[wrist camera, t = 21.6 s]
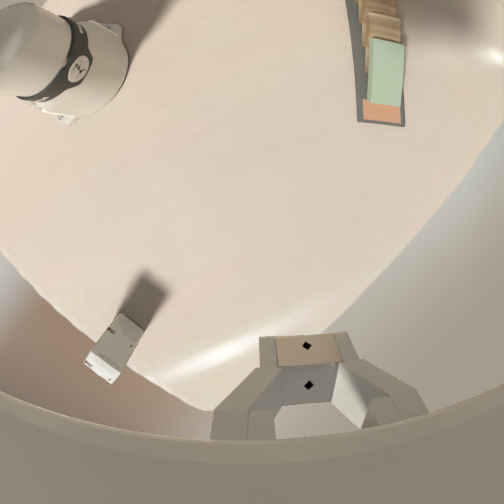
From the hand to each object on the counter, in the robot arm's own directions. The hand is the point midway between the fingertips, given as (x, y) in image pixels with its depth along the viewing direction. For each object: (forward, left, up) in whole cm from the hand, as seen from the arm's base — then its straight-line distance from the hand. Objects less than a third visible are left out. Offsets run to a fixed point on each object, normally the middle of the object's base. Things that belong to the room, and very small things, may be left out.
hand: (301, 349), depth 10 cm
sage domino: (+8, +22, -33) cm, 40 cm away
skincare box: (-10, -33, -34) cm, 49 cm away
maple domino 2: (+5, +26, -33) cm, 42 cm away
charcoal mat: (+4, +28, -34) cm, 45 cm away
